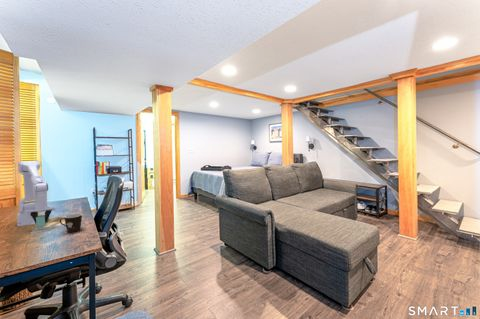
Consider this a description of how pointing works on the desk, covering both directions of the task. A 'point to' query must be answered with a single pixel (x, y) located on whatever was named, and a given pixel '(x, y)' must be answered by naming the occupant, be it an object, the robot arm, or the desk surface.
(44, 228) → the pad
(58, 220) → the tan shallow tray
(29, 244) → the desk surface
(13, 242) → the desk surface
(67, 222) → the coffee mug
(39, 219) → the block
